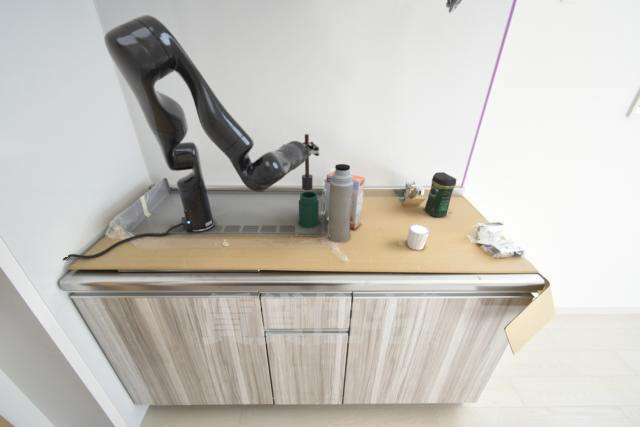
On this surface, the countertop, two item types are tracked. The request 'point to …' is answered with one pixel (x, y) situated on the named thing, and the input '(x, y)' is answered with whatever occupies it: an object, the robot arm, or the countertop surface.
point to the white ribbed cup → (417, 236)
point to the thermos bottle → (340, 203)
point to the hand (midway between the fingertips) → (309, 144)
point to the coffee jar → (440, 194)
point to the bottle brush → (307, 171)
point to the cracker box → (356, 199)
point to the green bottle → (308, 209)
